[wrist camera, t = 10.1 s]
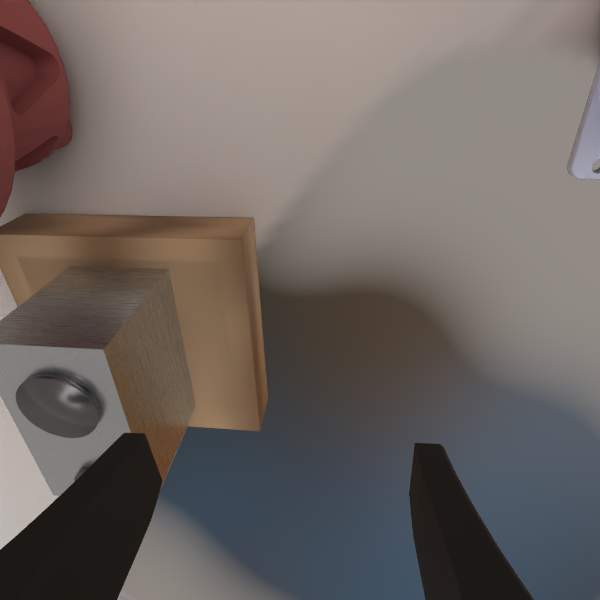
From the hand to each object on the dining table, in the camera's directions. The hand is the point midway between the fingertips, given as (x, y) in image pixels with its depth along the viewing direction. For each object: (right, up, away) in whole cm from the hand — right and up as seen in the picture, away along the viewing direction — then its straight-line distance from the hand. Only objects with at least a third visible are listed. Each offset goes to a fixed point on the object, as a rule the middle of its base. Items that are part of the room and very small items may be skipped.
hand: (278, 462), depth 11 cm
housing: (-7, +2, +9) cm, 11 cm away
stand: (-7, +4, +11) cm, 13 cm away
